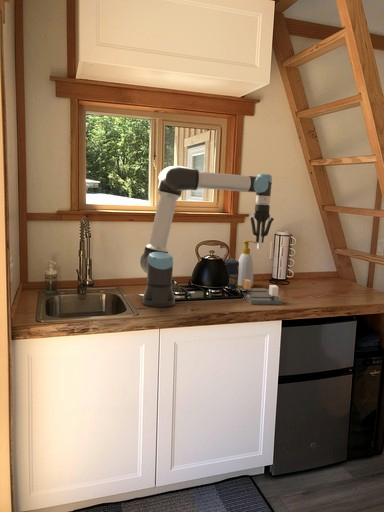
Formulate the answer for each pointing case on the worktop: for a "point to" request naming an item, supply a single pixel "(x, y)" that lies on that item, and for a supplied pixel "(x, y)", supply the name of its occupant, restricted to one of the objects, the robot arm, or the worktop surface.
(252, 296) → the console
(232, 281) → the canister
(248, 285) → the block
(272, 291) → the block
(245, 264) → the soap bottle
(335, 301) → the worktop surface
